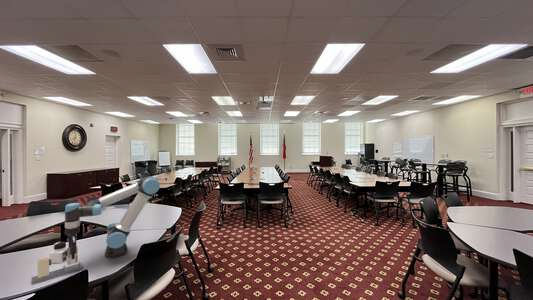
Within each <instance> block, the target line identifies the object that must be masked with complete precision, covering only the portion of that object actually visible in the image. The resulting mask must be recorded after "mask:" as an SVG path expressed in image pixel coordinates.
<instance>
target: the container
mask: <svg viewBox="0 0 533 300" xmlns="http://www.w3.org/2000/svg"><path fill="white" fill-rule="evenodd" d="M67 248H68V247H67V242H66V241H58V242H56V243H54V244H53V250H52V251H51V252H49V259H51V264H62V263H64V262H65V261H66V262H67V256H65V250H67Z"/></svg>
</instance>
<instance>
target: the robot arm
mask: <svg viewBox="0 0 533 300" xmlns="http://www.w3.org/2000/svg"><path fill="white" fill-rule="evenodd" d="M160 187H161V184H160V181H159V180H158V179H157V178H156V177H154V176H153V175H152V176H151V175H149V176H145V177H142V178H141V179H138V180H136V181H135V182H134V183H132V184H129V185H128V186H125V187H123V188H121V189H120V188H119V189H118V190H115V191H114V192H110V193H108V194H105V195H104V196H101V197H99V198H97V199H93V200H89V201H88V202H87V203H86V205H81V204H80V202H73V203H68V204H66V205H65V206H64V207H65V209H64V235H67V239H68V248H69V247H70V249H71V253H70V254H69V255H70V265H73V264H74V265H75V264H77V263H76V246H77V241H78V240H77V236H78V235H77V234H78V233H80V230H81V228H80V225H81V222H82V221H81V219H80V218H87V217H96V216H100V215H102V212H103V208H105V207H107V206H110V205H113V204H115V203H116V202H117V203H118V202H119V201H122V200H124V199H126V198H129V197H131V196H133V195H136V196H135V197H134V199H133V200H132V202H131V204H130V205H129V207H128V208H127V210H126V211H125V213H124V214H123V216H122V218H121V219H120V220H119V222H115V223H109V224H107V228H106V229H107V231H106V232H107V234H106V244H107V245H106V248H105V251H104V258H109V259H110V258H111V259H113V258H119V257H122V256H124V255H126V254H127V253H128V251H129V247H128V245H127V239H128V237H129V235H130V233H131V232H132V230H131V228H132V226H133V224H134V223H135V221H136V220H137V219H138V217H139V215H140V213H141V212H142V210H143V209H144V207H145V206H146V205H147V202H148V201H149V199H152V198H153V196H155V194H157V192H158V191H159V190H160Z"/></svg>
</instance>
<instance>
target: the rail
mask: <svg viewBox="0 0 533 300" xmlns="http://www.w3.org/2000/svg"><path fill="white" fill-rule="evenodd" d="M36 263H37V269H36V271H37V274H36V275H35V276H32V277H31V285H35V283H36V284H39V283H42V282H45V281H48V280H51V279H55V278H58V277H62V276H65V275H68V274H72V273H74V272H77V271H81V270H84V265H83V263H81V261H78V263H75V264H74V265H73V264H72V265H70V266H69V265H68V266H66V265H64V266H63V267H62V268H59V269H55V270H53V271H50V266H51V265H52V263H51V259H50V257H44V258H41V259H37V261H36Z"/></svg>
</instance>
